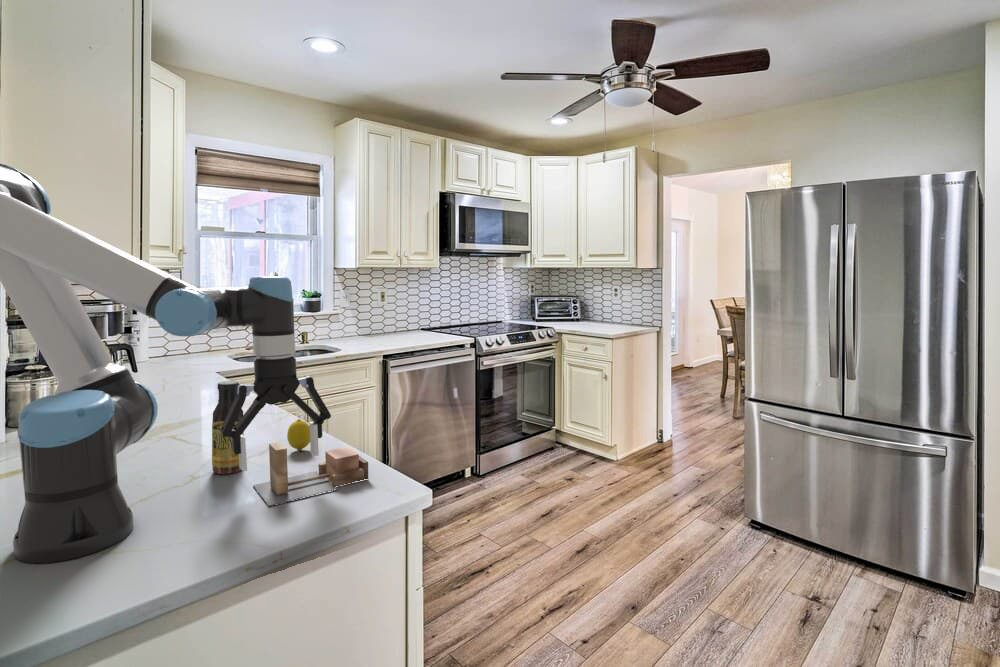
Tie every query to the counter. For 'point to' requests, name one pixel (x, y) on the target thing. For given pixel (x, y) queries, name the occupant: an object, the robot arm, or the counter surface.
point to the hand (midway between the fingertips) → (280, 461)
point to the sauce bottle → (221, 446)
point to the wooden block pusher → (335, 464)
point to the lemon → (299, 434)
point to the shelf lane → (312, 484)
